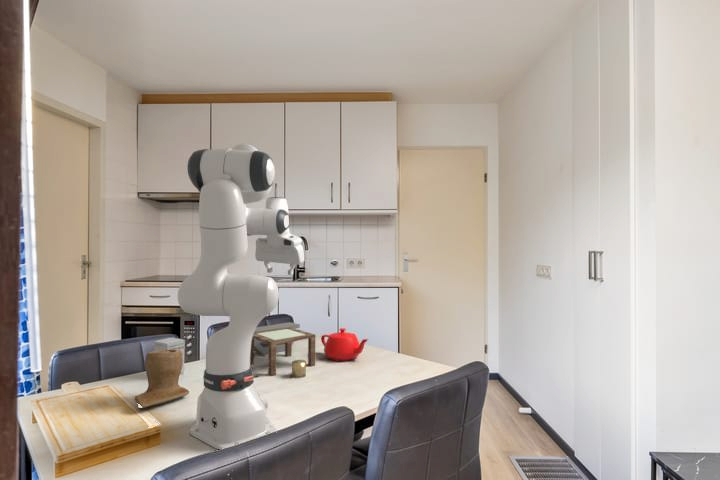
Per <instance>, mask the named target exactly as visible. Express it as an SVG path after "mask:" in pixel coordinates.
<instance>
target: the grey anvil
mask: <svg viewBox="0 0 720 480" xmlns="http://www.w3.org/2000/svg"><path fill="white" fill-rule="evenodd" d="M287 327H291V328H294V329H300V328H301V325H300V324H299V323H296V322H291V321H289V322H282V323H275V324H269V325H262V326H257V327H256V329H255V331H254V332H260V331H267V330H273V329H280V328H287ZM261 343H263V342H262V341H259V340H257V339H254V353H257V354H259V355H262V356H269V344H267V343H263V344H261ZM294 343H295V341H292V345H293V344H294ZM282 352H283V353H285V343H281V344H276V354H279V353H282Z"/></svg>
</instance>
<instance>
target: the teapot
mask: <svg viewBox="0 0 720 480" xmlns="http://www.w3.org/2000/svg"><path fill="white" fill-rule="evenodd" d="M339 331H340V332H334V333H333V332H332V333H330V334H322V335H321V337H320V340H321V343H322V345H323V346H324V348H323V352H324V354H325V356H326V357H328V359H330V360H333V361H336V362H347V361H348V360H349V361H352V360H354V359H356V358H357V357H358V356H359V355H360V354H361V353H362V352H363V350H364V348H365V344H366V343H367V341H368V340H369V339H368V338H367V339H366V338H363V339H362V340H361V342H360V341H359V339H358V337H357V335H356V334H354V333H352V332H345V331H346V328H342V327H341V328H339ZM325 338H327V339H325Z"/></svg>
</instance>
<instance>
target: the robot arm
mask: <svg viewBox="0 0 720 480" xmlns="http://www.w3.org/2000/svg"><path fill="white" fill-rule="evenodd" d="M187 174H188V175H187V176H188V178H189V180H190V182H191V183H192V185H193V186H194V187H195V188H196V189H197V190H198V192H199V203H198V219H199V229H200V230H199V231H200V259H199V262H198V264H197V266H196V267H195V270H194V271H192V273H191V274H190V275H188V276H187V277H186V278H185V279H184V280H183V281H182V282H181V283H180V285H179V287H178V291H177V301H178V304H179V307H180V309H182V311H183V312H184V313H188V314H190V315H191V314H192V315H197V316H202V317H229V322H228V326H226V327H224V328H221V329H219V330H217V331H215V332H214V333H212V334H211V335H210V337H208V339H207V342H206V345H205V369H204V372H203V377H202V379H203V386H204V388H203V389H202V391H201V393H200V394H199V396H198V398H197V403H196V416H195V418H196V419H195V425H193V426H192V427H191V428H189V429H190V430H189V434H190V435H191V436H192V437H195V438H196V439H197V440H199V441H201V442H203V443H205V444H208V445H209V446H210V447H212V448H215V449H216V448H217V449H216V450H218V449H222V448H226V447H230V446H233V445H236V444H239V443H242V442H246V441H249V440H251V439H254V438H257V437H260V436H263V435H266V434H268V433H272V432H274V431H276V432H277V428H276V427H275V426H274V424H272V422H271V421H270V419H269V418H268V417H267V409H268V406H269V405H268V401H267V399H262V397H261V395H260V391H258V390H257V389H256V386H255V384H254V378H255V377H254V376H253V374H254V372H253V369H252V366H251V365H250V353H251V342H252V337H253V334H254V331H255V329H256V327H259V326H258V325H259V324H260V323H261V322H262V321H263V319H264V318H265V317H267V316H268V315H269V314H271V312H273V310H275V308H276V307H277V305H278V302H279V298H280V290H279V287H278V286H279V285H278V284H277V282H276V281H275V280H274V278H272V277H270V276H265V275H260V274H255V273H249V274H248V273H244V274H243V273H233V274H232V273H228V267H229V266H231V265H233V264H235V263H237V262H239V261H240V260H242V259H243V258H244V257H245V256H246V255H247V252H248V248H249V243H248V241H249V239H248V237H249V236H266V237H259V238H256V240H255V255H254V256H255V259H256V261H258V262H263V265H264V266H265V268H266V272H267V273H269V274H270V273H273V267H272V266H271V265H270V263H276V264H277V263H278V264H287V265H289V267H290V268H289V270H288V269H287V275H288V276H292V275H294V270H295V268H296V267H297V265H298V266H299V265H301V264H303V263H304V261H305V253H304V252H305V251H304V247H303V245H302V243H303V242H302V241H303V239H302V238H301V237H299V236H297V235H294V234H293V233H290V232H291V231H290V223H291V222H290V214H289V213H290V212H289V206H288V200H287V199H286V198H285V197H281V196H280V197H279V196H273V197H272V196H271V197H267V196H268V195H269V194H270V193H271V190H272V189H273V184H274V179H275V176H276V168H275V163H274V161H273V158H272V157H271V156H270V155H269V154H268V153H266V152H264V151H259V150H258V149H257V147H255V146H254V145H252V144H249V143H240V144H237V145H234V146H232V148H218V149H217V148H214V149H209V148H203V149H198V150H196V151H193V152H192V154H191V155H190V157H189V159H188V162H187ZM266 197H267V198H266ZM265 198H266V201H265V208H253V207H247V204H251V203H258V202H260V201H262V200H264V199H265Z"/></svg>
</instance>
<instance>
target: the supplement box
mask: <svg viewBox="0 0 720 480" xmlns="http://www.w3.org/2000/svg"><path fill="white" fill-rule="evenodd" d="M185 343H186V341H185V339H182V338H177V337H167V338H162V339H159V340H155V341H154V346H153V347H154V349H153V350H154V351H159V350H170V349H176V350H180V351H181V352H182V356H183V365H182V370H181V373H180V376H182V375H184V374H185V351H186V350H185V348H186V347H185V346H186V344H185Z"/></svg>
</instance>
